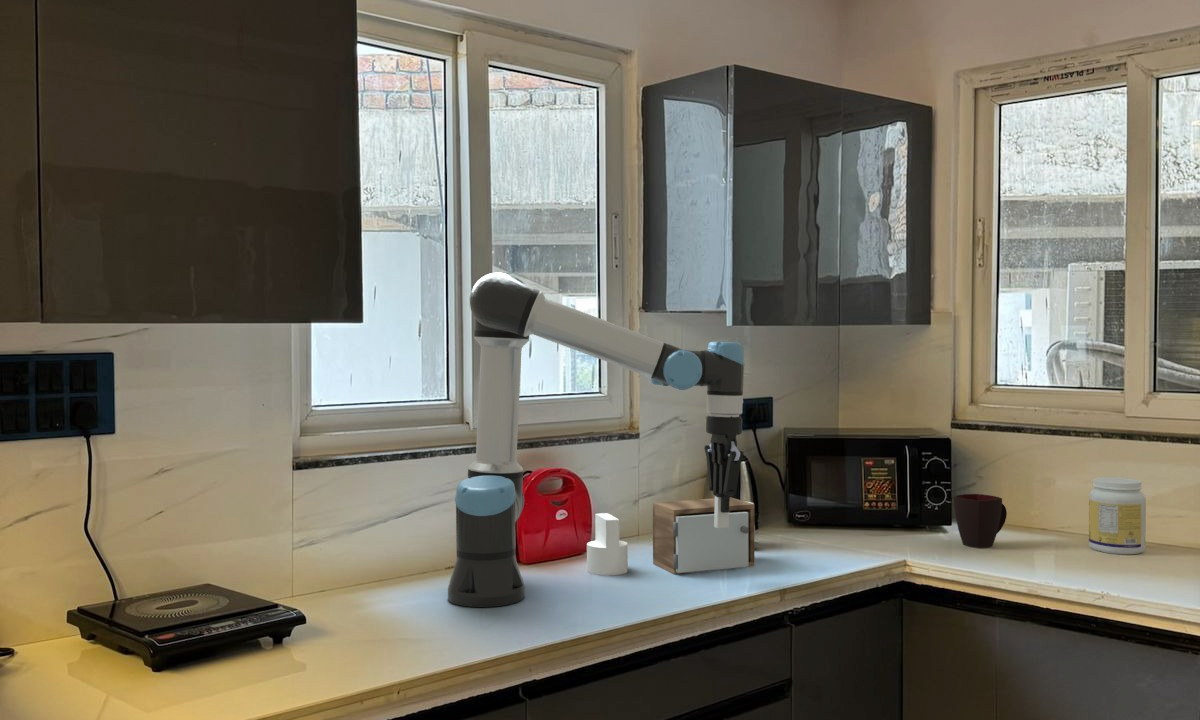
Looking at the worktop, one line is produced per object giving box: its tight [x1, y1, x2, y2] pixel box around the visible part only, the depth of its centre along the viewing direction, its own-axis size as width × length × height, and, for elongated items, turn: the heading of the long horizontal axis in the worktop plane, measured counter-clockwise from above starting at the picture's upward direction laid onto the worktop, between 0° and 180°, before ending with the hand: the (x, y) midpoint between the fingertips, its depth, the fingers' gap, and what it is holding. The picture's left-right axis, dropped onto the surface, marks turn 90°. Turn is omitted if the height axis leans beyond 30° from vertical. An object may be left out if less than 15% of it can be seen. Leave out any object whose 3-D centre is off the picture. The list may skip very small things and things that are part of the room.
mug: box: [953, 493, 1008, 549], centre depth 248 cm, size 10×14×12 cm
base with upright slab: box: [586, 512, 629, 576], centre depth 222 cm, size 9×9×12 cm
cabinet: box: [652, 496, 756, 575], centre depth 227 cm, size 20×11×14 cm, turn 111°
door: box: [673, 512, 749, 574], centre depth 219 cm, size 18×3×12 cm, turn 110°
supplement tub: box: [1088, 476, 1147, 555], centre depth 241 cm, size 12×12×17 cm
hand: (721, 527), depth 211 cm, fingers closed
